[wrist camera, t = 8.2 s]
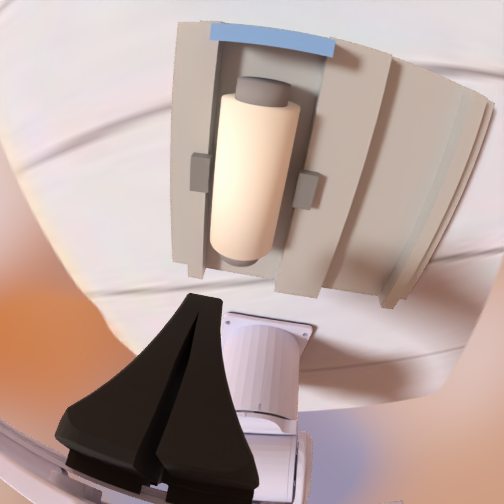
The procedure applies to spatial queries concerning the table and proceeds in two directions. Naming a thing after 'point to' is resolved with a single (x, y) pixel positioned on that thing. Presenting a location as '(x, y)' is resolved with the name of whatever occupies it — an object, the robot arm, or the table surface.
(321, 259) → the beige mounting plate
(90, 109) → the table surface
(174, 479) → the robot arm
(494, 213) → the table surface
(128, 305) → the table surface
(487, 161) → the table surface
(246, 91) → the cream cylinder
